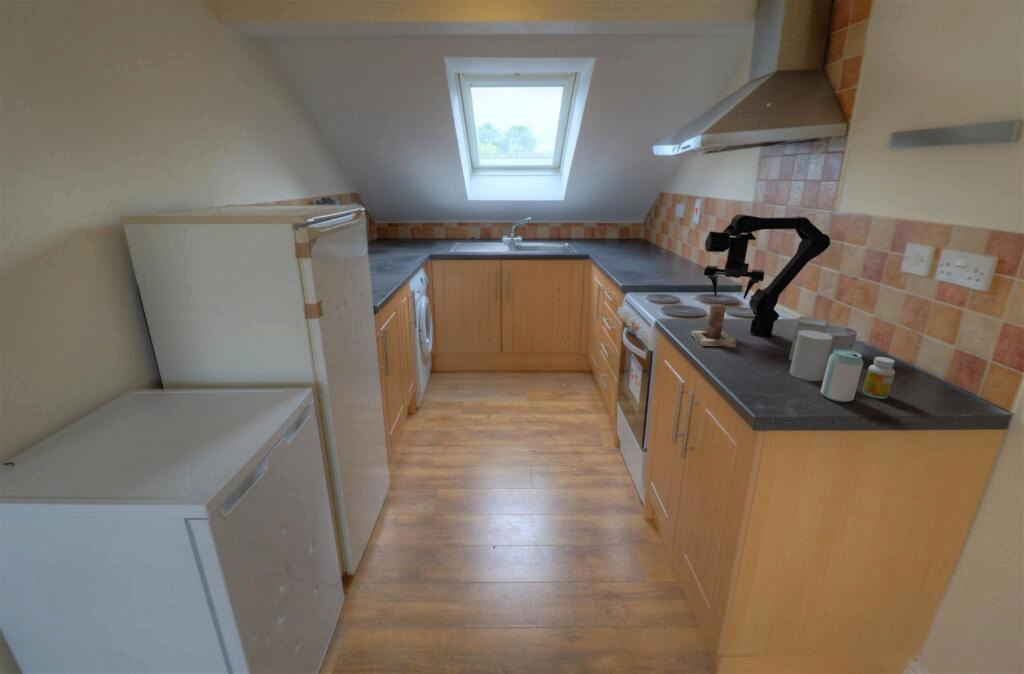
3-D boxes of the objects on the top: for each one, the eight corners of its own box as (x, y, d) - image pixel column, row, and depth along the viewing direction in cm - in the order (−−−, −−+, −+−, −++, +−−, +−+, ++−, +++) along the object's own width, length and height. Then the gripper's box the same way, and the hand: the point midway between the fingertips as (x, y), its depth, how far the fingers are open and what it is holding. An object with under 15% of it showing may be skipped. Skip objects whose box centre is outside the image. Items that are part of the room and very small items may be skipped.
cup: (818, 372, 135) (828, 332, 132) (826, 382, 128) (836, 341, 124) (786, 368, 138) (795, 328, 134) (792, 378, 131) (801, 337, 127)
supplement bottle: (856, 390, 124) (866, 355, 121) (875, 390, 124) (885, 355, 121) (873, 399, 119) (883, 363, 116) (893, 399, 119) (903, 363, 116)
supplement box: (787, 360, 144) (796, 320, 140) (791, 353, 150) (799, 315, 146) (815, 366, 140) (825, 325, 136) (818, 359, 146) (828, 319, 142)
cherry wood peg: (720, 340, 161) (726, 305, 157) (719, 344, 157) (725, 308, 153) (706, 338, 163) (711, 303, 159) (704, 342, 159) (710, 306, 155)
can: (838, 390, 123) (849, 347, 119) (860, 402, 117) (872, 357, 113) (813, 391, 122) (823, 348, 119) (834, 404, 116) (846, 358, 112)
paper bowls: (795, 341, 162) (799, 318, 160) (848, 348, 155) (853, 325, 153) (796, 354, 149) (801, 330, 147) (854, 363, 143) (860, 338, 140)
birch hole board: (722, 336, 165) (723, 331, 164) (735, 347, 154) (736, 341, 154) (690, 335, 165) (691, 330, 165) (701, 346, 155) (702, 340, 154)
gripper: (705, 253, 158) (698, 298, 163) (767, 258, 150) (758, 305, 155) (709, 249, 167) (702, 292, 172) (768, 253, 159) (759, 299, 164)
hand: (729, 297), depth 166 cm, fingers open, 9 cm apart
